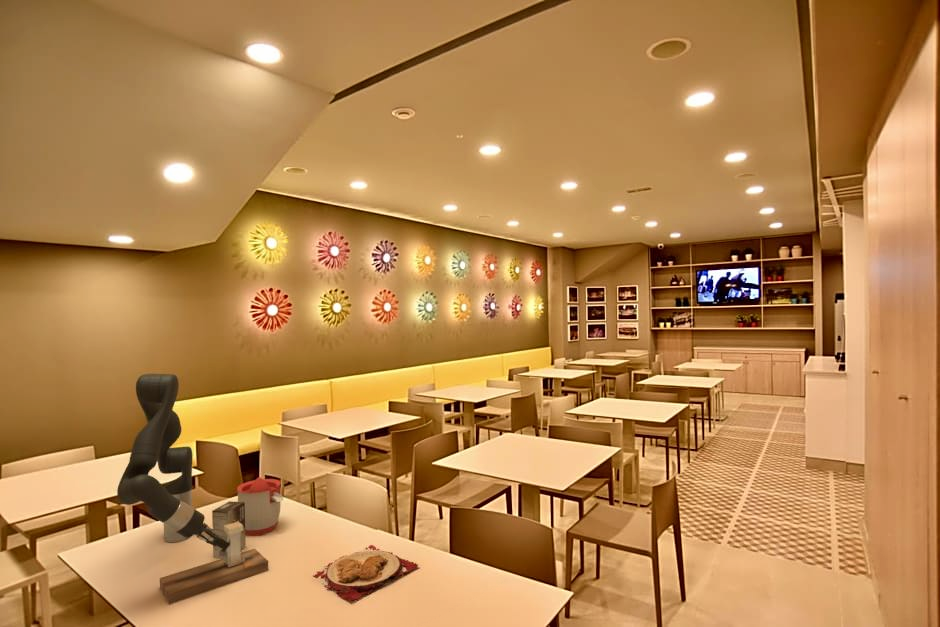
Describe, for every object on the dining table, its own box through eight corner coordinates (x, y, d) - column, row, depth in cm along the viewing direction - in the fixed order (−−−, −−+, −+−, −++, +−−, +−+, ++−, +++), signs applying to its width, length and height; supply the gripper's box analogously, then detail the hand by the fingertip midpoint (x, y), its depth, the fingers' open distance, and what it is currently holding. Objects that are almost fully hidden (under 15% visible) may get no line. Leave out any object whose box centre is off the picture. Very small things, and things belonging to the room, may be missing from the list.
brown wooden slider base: (159, 588, 153) (159, 577, 153) (254, 557, 172) (254, 547, 172) (169, 604, 144) (168, 592, 144) (268, 570, 163) (268, 559, 163)
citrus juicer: (267, 541, 184) (266, 486, 184) (227, 535, 189) (227, 482, 189) (293, 523, 199) (293, 473, 199) (256, 519, 204) (255, 469, 204)
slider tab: (223, 561, 162) (222, 525, 162) (239, 556, 165) (239, 521, 165) (228, 567, 158) (227, 530, 158) (244, 562, 162) (244, 525, 162)
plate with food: (419, 570, 163) (419, 559, 163) (350, 605, 143) (350, 592, 143) (371, 549, 179) (371, 539, 180) (303, 577, 159) (303, 565, 160)
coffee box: (230, 545, 181) (229, 500, 181) (246, 547, 180) (245, 501, 180) (212, 557, 172) (211, 510, 172) (228, 559, 171) (228, 511, 171)
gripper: (198, 513, 149) (242, 542, 157) (187, 501, 159) (229, 529, 167) (178, 537, 146) (224, 565, 154) (167, 523, 155) (211, 550, 164)
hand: (226, 546), depth 161 cm, fingers closed
